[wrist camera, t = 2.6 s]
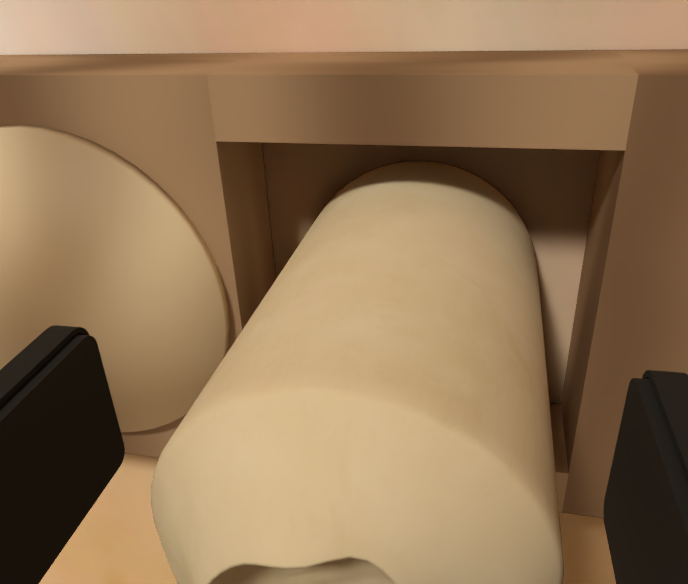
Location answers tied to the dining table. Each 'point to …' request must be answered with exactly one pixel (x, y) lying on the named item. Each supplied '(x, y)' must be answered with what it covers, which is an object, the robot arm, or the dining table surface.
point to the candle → (378, 405)
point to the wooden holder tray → (253, 213)
